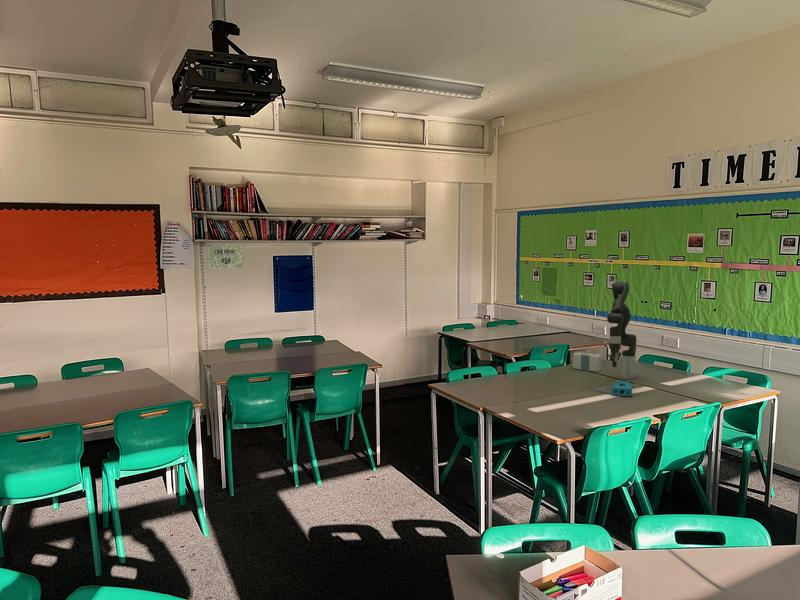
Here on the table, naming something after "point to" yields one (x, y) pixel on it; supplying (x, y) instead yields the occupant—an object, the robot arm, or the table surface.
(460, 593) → the table surface
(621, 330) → the robot arm
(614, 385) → the block
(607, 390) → the mat
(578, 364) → the stereo radio cassette player
